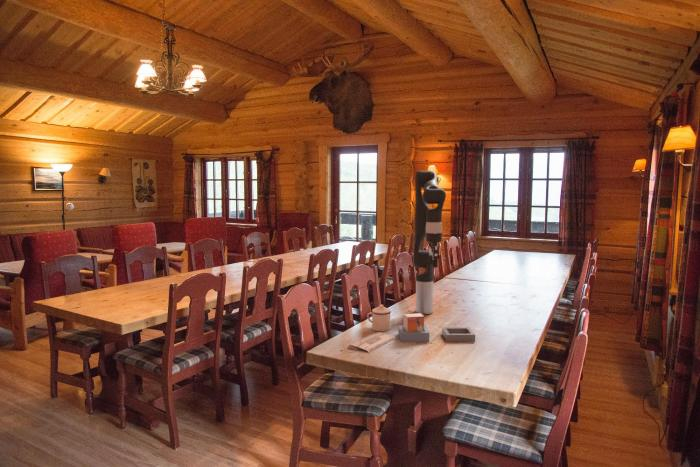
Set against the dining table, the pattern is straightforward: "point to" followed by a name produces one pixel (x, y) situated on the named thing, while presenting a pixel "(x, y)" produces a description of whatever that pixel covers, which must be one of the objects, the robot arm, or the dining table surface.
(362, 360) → the dining table surface
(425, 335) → the port sleeve
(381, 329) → the teacup with lid
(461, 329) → the frame
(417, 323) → the small box
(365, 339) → the newspaper
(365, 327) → the dining table surface
